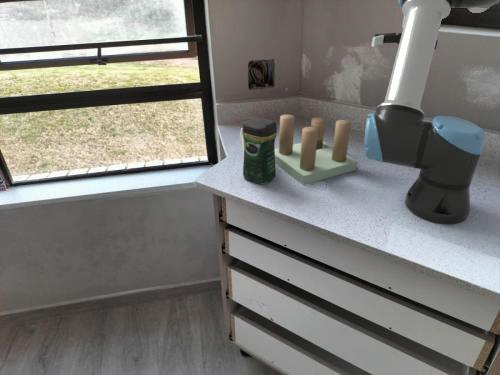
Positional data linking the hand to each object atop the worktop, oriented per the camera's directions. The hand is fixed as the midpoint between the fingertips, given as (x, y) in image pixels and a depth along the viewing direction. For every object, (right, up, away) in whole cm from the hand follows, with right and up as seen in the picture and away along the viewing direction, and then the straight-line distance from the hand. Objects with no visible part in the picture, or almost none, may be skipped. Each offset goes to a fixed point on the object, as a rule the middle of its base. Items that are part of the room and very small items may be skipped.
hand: (393, 44), depth 113 cm
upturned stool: (-25, -37, +5) cm, 44 cm away
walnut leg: (-22, -32, +12) cm, 41 cm away
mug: (-44, -36, +6) cm, 58 cm away
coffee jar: (-42, -41, -2) cm, 59 cm away
